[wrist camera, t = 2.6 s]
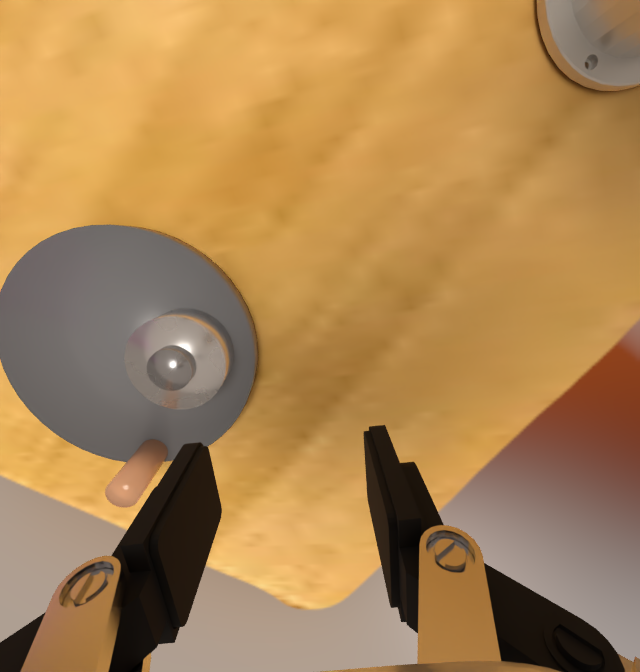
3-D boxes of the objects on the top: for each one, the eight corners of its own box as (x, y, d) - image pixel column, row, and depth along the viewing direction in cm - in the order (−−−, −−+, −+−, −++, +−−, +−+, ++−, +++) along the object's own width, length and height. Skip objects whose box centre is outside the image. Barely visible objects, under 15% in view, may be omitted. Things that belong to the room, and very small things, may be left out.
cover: (226, 303, 25) (210, 315, 21) (240, 387, 27) (229, 411, 23) (135, 312, 25) (103, 325, 21) (156, 394, 27) (131, 420, 23)
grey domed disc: (237, 214, 25) (210, 204, 18) (272, 438, 31) (261, 494, 24) (-21, 238, 25) (-143, 238, 18) (61, 458, 31) (-8, 519, 24)
